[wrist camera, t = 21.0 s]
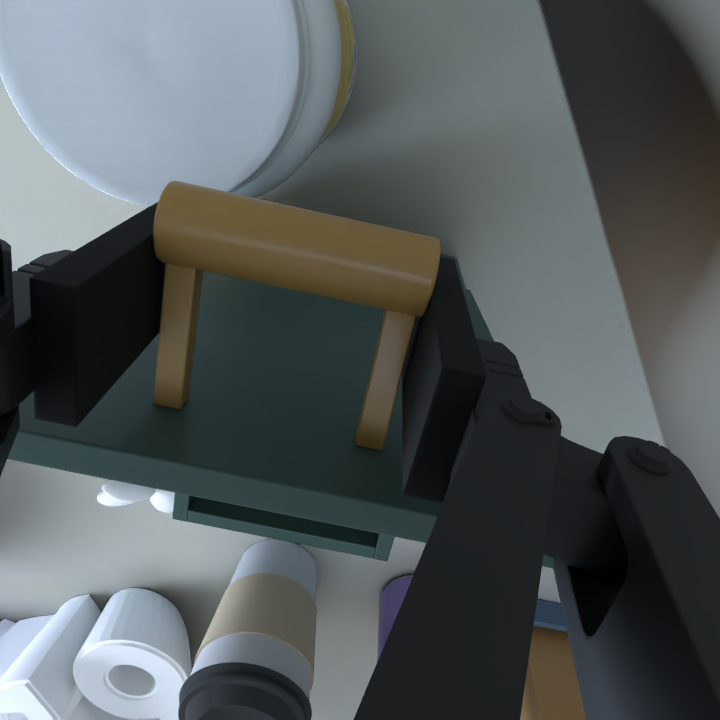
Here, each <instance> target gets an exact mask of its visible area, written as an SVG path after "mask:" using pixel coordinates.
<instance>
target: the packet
mask: <svg viewBox="0 0 720 720" xmlns="http://www.w3.org/2000/svg"><path fill="white" fill-rule="evenodd" d="M520 720H586V716H585V711H584V707H583V702H582V698H581V693H580V688H579V684H578V679H577V675H576V670H575V665H574V661H573V656H572V652H571V647H570V642H569V638H568V633H567V632H565V631H560V630H555V629H550V628H545V627H540V626H535V625H533V632H532V639H531V646H530V653H529V660H528V667H527V674H526V681H525V688H524V695H523V702H522V709H521V717H520Z"/></svg>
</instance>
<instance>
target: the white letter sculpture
mask: <svg viewBox="0 0 720 720" xmlns="http://www.w3.org/2000/svg"><path fill="white" fill-rule="evenodd" d="M191 672H192V666H191V657H190V647H189V639H188V634H187V630H186V627H185V624H184V621H183V619H182V617H181V614H180V613H179V611H178V610H177V608H176V607H175V606H174V605H173V604H172V603H171V602H170V601H169V600H167V599H166V598H164V597H163V596H161V595H159V594H157V593H155V592H153V591H150V590H146V589H140V588H128V589H124V590H121V591H119V592H117V593H115V594H114V595H113V596H112V597H111V598H110V599H109V601H108V603H107V604H106V606H105V608H104V610H103V611H102V612H101V611H100V610H99V608H98V607H97V605H96V604H95V602H94V601H93V600H92V598H91V597H90V595H89V594H88V595H81V596H77V597H74V598H72V599H70V600H68V601H67V602H66V603H64V604H63V606H62V607H61V608H60V609H59V610H58V611H57V613H56V614H55V615H46V616H39V617H33V618H28V619H23V620H20V621H18V622H17V623H15V622H12V621H10V620H7V619H4V620H2V621H1V622H0V720H138V719H146V720H179V717H178V709H179V693H180V690H181V687H182V685H183V684H184V682H185V681H186V680H187V678H188V677H189V676H190V674H191Z"/></svg>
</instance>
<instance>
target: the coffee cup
mask: <svg viewBox="0 0 720 720" xmlns="http://www.w3.org/2000/svg"><path fill="white" fill-rule="evenodd" d="M316 585H317V566H316V563H315V561H314V559H313V557H312V556H311V555H310V553H309V552H308V551H306V550H305V549H304V548H302V547H301V546H299V545H297V544H295V543H293V542H288V541H283V540H278V539H271V540H264V541H260V542H258V543H255V544H254V545H252V546H250V547H249V548H248V549H247V550H246V551H245V552H244V554H243V555H242V557H241V559H240V562H239V564H238V566H237V569H236V571H235V573H234V575H233V578H232V580H231V582H230V585H229V587H228V588H227V590H226V591H225V593H224V595H223V597H222V600H221V602H220V604H219V606H218V608H217V611H216V613H215V615H214V617H213V619H212V622H211V624H210V626H209V628H208V630H207V633H206V635H205V637H204V639H203V641H202V644H201V646H200V648H199V650H198V652H197V655H196V657H195V661H194V667H193V670H192V672H191V674H190V676H189V677H188V678H187V680H186V681H185V682H184V684H183V685H182V687H181V690H180V693H179V709H178V717H179V720H311V717H312V710H311V705H310V702H309V698H310V690H311V688H312V685H313V675H314V655H315V634H316V613H317V610H316V604H315V601H316Z"/></svg>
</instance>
